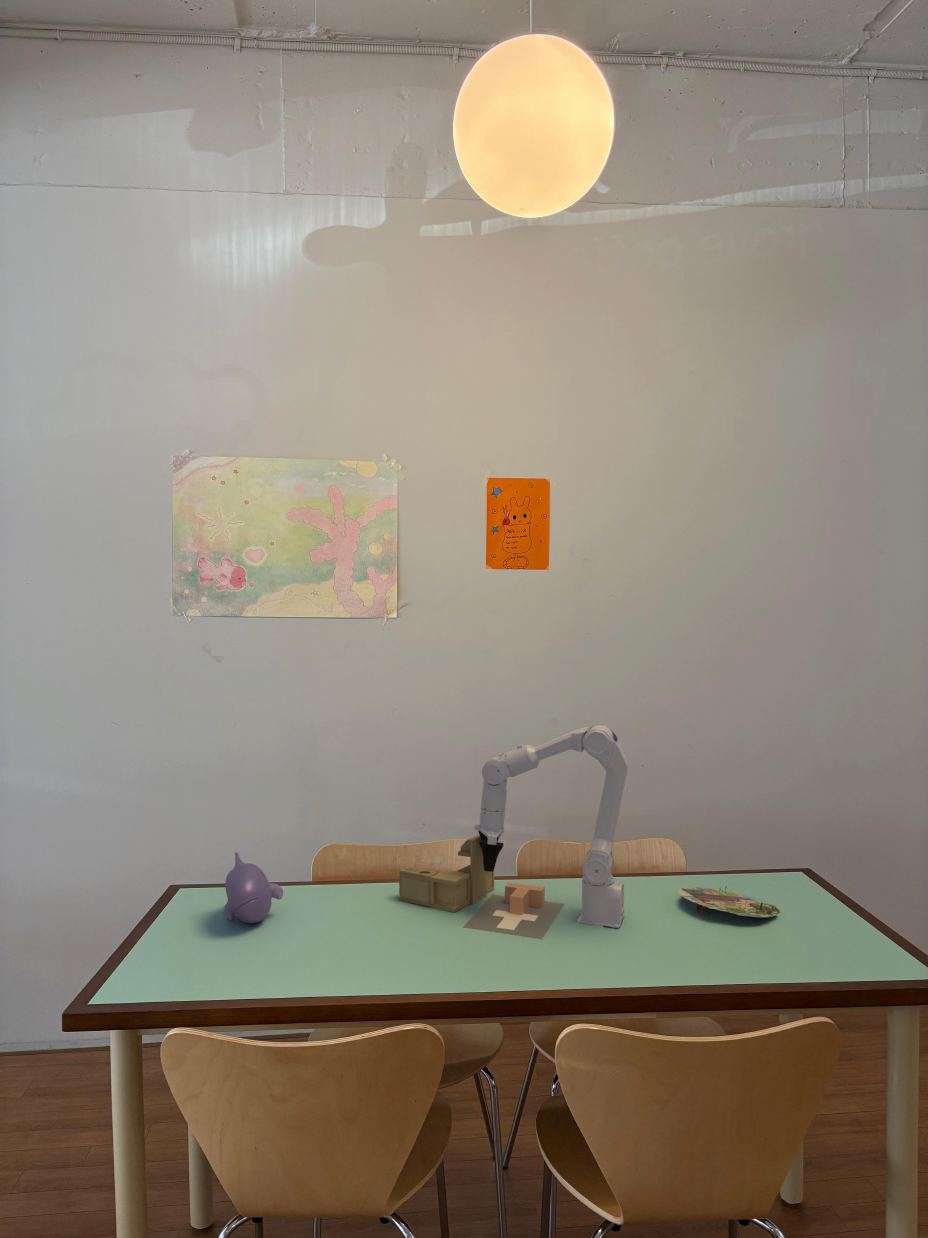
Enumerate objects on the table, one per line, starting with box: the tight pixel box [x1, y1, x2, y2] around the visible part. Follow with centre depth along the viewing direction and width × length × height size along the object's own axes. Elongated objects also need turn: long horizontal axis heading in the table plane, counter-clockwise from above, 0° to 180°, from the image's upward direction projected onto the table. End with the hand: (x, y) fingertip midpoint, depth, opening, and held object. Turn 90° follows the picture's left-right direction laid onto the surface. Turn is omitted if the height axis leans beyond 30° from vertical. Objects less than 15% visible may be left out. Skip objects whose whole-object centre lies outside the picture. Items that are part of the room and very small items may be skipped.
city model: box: [677, 884, 781, 918], centre depth 197 cm, size 25×23×6 cm
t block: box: [504, 882, 546, 915], centre depth 195 cm, size 9×9×4 cm
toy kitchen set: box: [398, 834, 495, 913], centre depth 203 cm, size 18×17×15 cm
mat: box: [462, 894, 565, 940], centre depth 190 cm, size 18×22×1 cm
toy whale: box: [224, 851, 284, 924], centre depth 189 cm, size 14×25×16 cm, turn 11°
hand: (488, 865), depth 195 cm, fingers open, 7 cm apart
